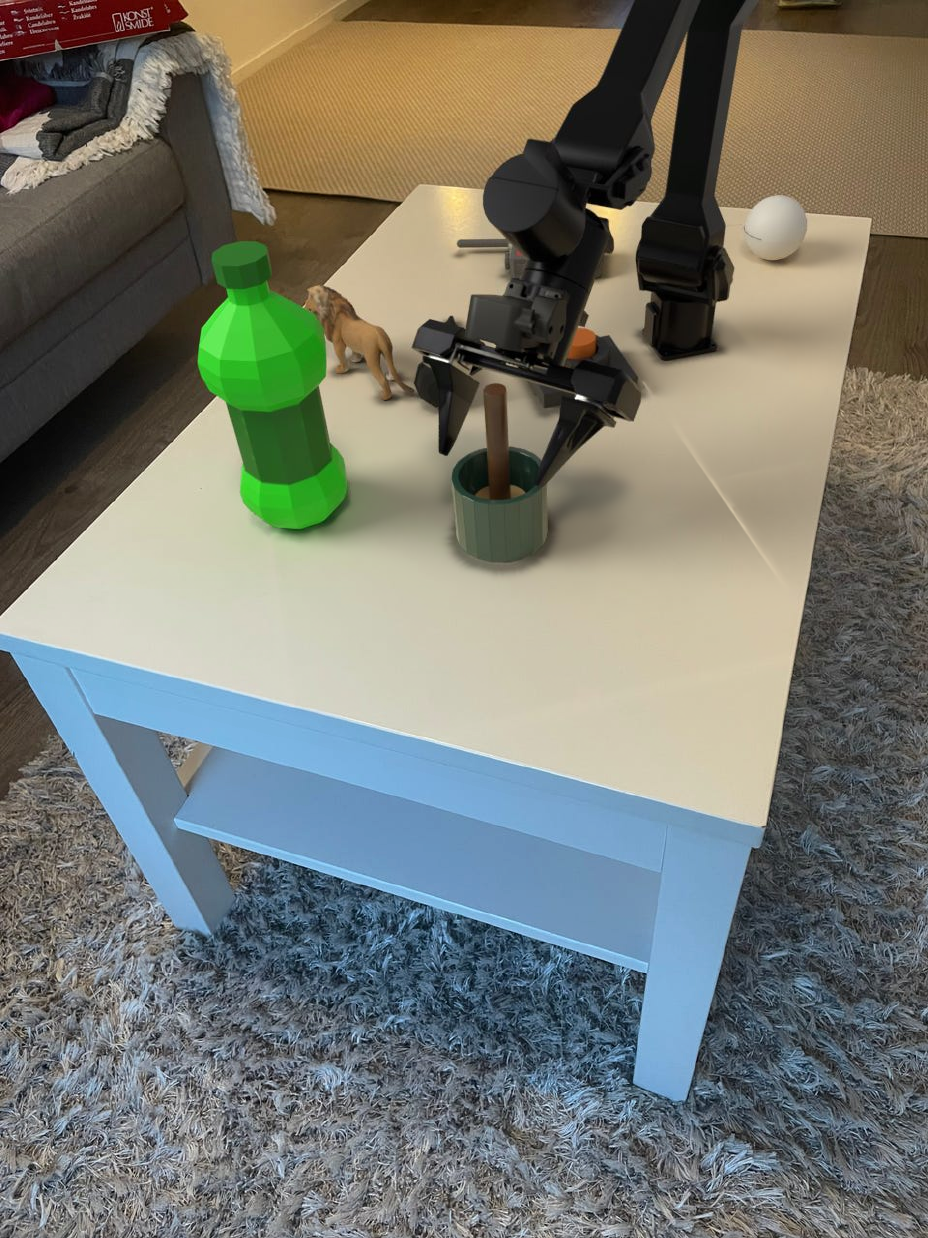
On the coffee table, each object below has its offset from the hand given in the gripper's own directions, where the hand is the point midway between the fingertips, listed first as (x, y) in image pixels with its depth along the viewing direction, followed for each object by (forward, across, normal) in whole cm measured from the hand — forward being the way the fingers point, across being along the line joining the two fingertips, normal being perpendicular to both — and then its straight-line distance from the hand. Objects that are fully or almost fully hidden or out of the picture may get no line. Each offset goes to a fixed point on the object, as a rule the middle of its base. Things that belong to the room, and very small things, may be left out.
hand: (489, 470), depth 79 cm
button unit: (-13, -6, +25) cm, 29 cm away
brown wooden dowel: (+4, 0, +6) cm, 8 cm away
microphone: (-10, -20, +22) cm, 31 cm away
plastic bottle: (+9, -18, +3) cm, 21 cm away
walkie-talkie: (-28, -24, +40) cm, 55 cm away
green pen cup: (+5, 0, +7) cm, 8 cm away
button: (-16, -6, +22) cm, 28 cm away
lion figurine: (-6, -28, +18) cm, 34 cm away
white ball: (-38, 0, +50) cm, 63 cm away
